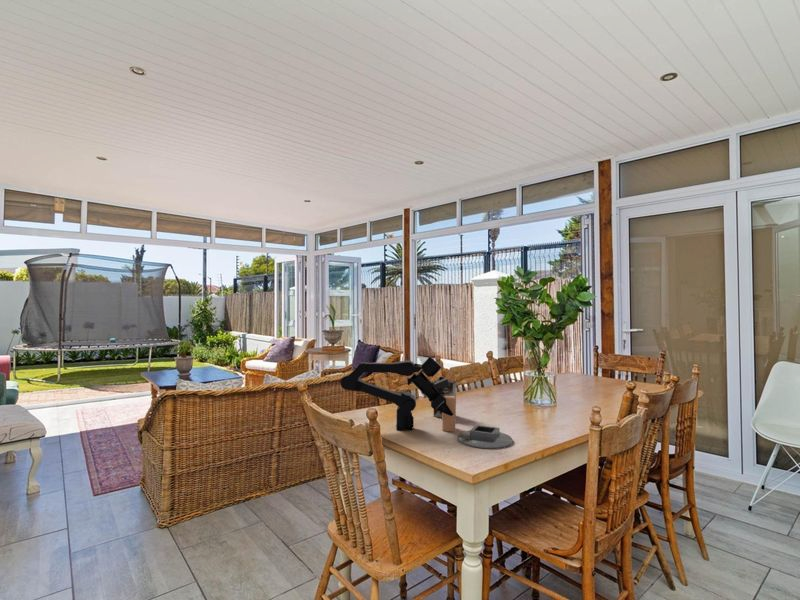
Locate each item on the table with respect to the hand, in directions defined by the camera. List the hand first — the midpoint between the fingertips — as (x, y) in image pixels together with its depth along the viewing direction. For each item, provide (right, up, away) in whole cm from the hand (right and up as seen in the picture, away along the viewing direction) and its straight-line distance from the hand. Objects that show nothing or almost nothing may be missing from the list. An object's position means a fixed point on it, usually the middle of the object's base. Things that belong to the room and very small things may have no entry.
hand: (451, 412), depth 176 cm
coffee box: (-1, -7, +21) cm, 22 cm away
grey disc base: (+11, -7, -14) cm, 19 cm away
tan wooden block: (-1, -7, 0) cm, 7 cm away
